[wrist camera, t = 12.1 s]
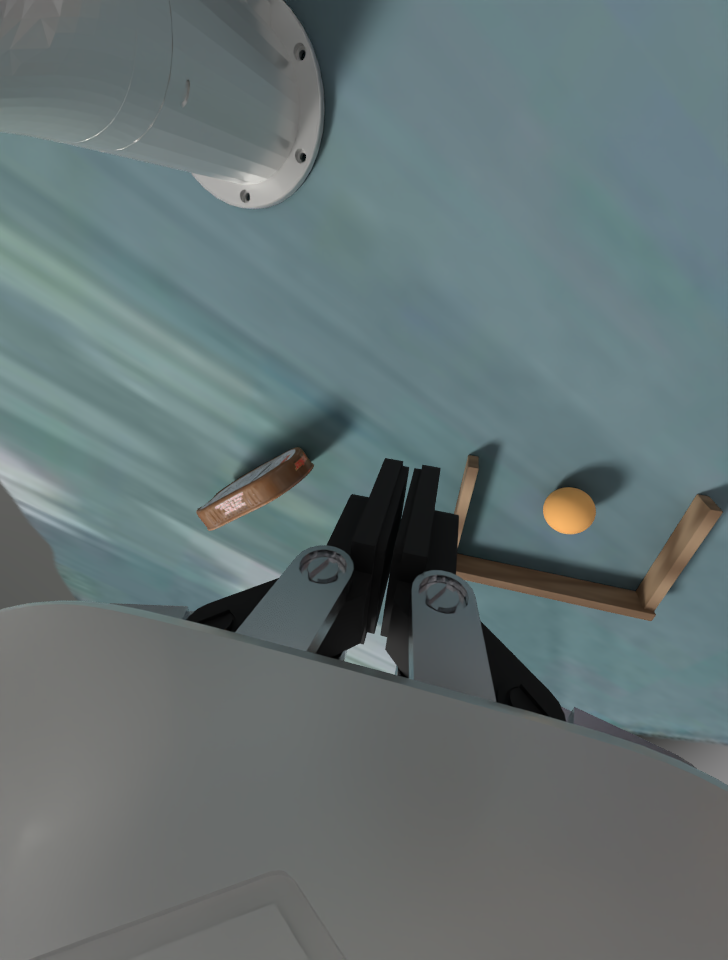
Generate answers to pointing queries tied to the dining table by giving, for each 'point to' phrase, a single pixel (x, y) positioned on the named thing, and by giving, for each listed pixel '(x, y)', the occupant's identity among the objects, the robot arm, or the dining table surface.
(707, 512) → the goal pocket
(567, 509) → the ball
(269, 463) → the tin
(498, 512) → the dining table surface
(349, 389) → the dining table surface
